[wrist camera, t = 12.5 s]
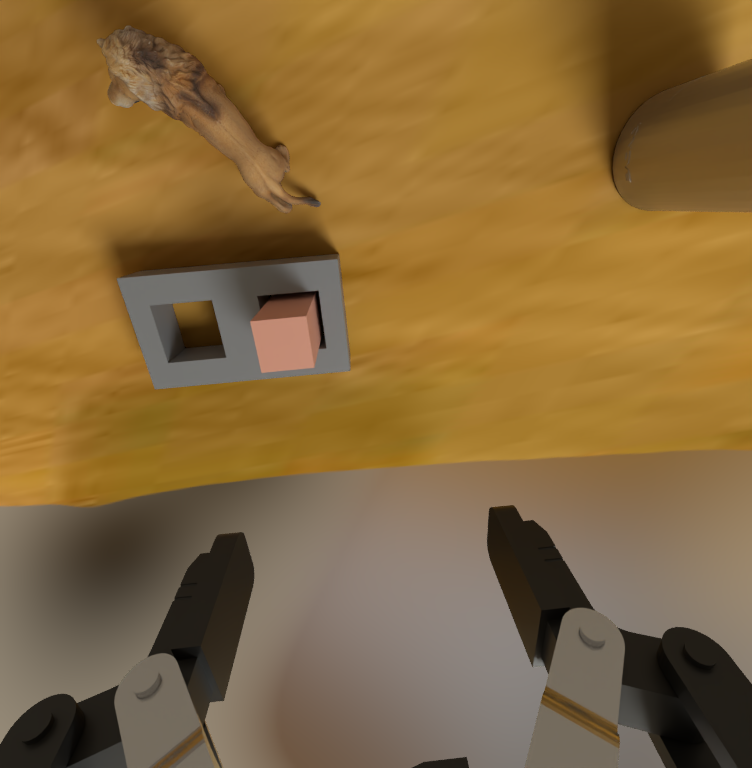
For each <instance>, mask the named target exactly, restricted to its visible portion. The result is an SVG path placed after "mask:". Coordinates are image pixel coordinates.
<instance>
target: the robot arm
mask: <svg viewBox="0 0 752 768" xmlns="http://www.w3.org/2000/svg"><path fill="white" fill-rule="evenodd" d="M613 176H614V182H615V184H616V187H617V190H618V192H619V193H620V195H621V196H622V198H623V199H624V200H625V201H626V202H628V203H629V204H630V205H631V206H634V207H636V208H638V209H642V210H649V211H699V212H752V59H750V60H747V61H744V62H742V63H739V64H736V65H733V66H731V67H728V68H725V69H722V70H720V71H717V72H714V73H712V74H709V75H706V76H703V77H700V78H697V79H695V80H692V81H689V82H686V83H684V84H681V85H678V86H676V87H673V88H670V89H667V90H665V91H662V92H660V93H658V94H657V95H655V96H653V97H651V98H650V99H648V100H647V101H646V102H645V103H644V104H642V105H641V106H640V107H639V108H638V109H637V110H636V112H635V113H634V114H633V115H632V116H631V117H630V119H629V120H628V122H627V123H626V125H625V127H624V128H623V130H622V132H621V134H620V137H619V139H618V141H617V144H616V148H615V152H614V156H613ZM487 546H488V553H489V557H490V561H491V563H492V566H493V568H494V571H495V573H496V576H497V578H498V581H499V584H500V586H501V589H502V591H503V594H504V596H505V599H506V601H507V604H508V606H509V609H510V611H511V614H512V616H513V619H514V622H515V624H516V627H517V629H518V632H519V634H520V637H521V639H522V641H523V644H524V647H525V649H526V652H527V654H528V657H529V659H530V662H531V664H532V667H541V666H545V667H546V670H547V672H548V674H549V675H548V679H547V684H546V687H545V691H544V693H543V696H542V700H541V704H540V708H539V712H538V716H537V720H536V724H535V728H534V732H533V736H532V740H531V744H530V748H529V752H528V757H527V760H526V764H525V768H618V758H619V745H620V743H619V742H620V739H619V734H618V733H617V726H618V724H620V725H623V726H627V727H631V728H634V729H639V730H642V731H646V732H648V734H649V736H650V738H651V740H652V742H653V743H654V746H655V748H656V750H657V752H658V754H659V756H660V757H661V759H662V761H663V763H664V765H665V767H666V768H752V684H751V683H750V682H749V680H748V679H747V678H746V676H745V675H744V674H743V673H742V671H741V670H740V669H739V667H738V666H737V665H736V664H735V662H734V661H733V660H732V658H731V657H730V656H729V655H728V654H727V652H726V651H725V650H724V649H723V648H722V647H721V646H720V645H719V644H717V643H716V642H715V641H713V640H712V639H711V638H709V637H707V636H706V635H704V634H701V633H700V632H698V631H695V630H692V629H689V628H684V627H675V628H671V629H668V630H667V631H666V632H665V633H664V635H663V637H662V639H661V638H655V637H651V636H646V635H641V634H636V633H632V632H628V631H625V630H622V629H620V628H618V627H616V625H615V624H614V623H613V622H612V621H611V620H609V619H608V618H607V617H606V616H604V615H602V614H601V613H599V612H597V611H595V610H594V609H593V607H592V606H591V604H590V602H589V601H588V599H587V598H586V596H585V594H584V593H583V591H582V589H581V588H580V586H579V584H578V583H577V581H576V579H575V578H574V576H573V574H572V573H571V571H570V569H569V568H568V566H567V564H566V563H565V561H563V559H562V556H561V555H560V553H559V551H558V550H557V549H556V547H555V544H554V543H553V541H552V539H551V538H550V536H549V535H548V533H547V532H546V531H545V530H544V529H543V528H542V527H541V526H539V525H538V524H537V523H536V522H535V521H533V520H531V521H523V520H522V518H521V517H520V515H519V513H518V511H517V509H516V508H515V507H514V506H513V505H510V506H500V507H491V508H490V509H489V519H488V535H487ZM253 584H254V566H253V562H252V559H251V556H250V552H249V549H248V545H247V542H246V538H245V535H244V533H242V532H239V533H229V534H220V535H218V536H217V537H216V539H215V541H214V543H213V546H212V548H211V551H210V553H203V554H200V555H199V556H198V557H197V559H196V560H195V561H194V562H193V563H192V564H191V565H190V566H189V568H188V569H187V571H186V573H185V576H184V578H183V580H182V582H181V587H180V588H179V589H178V591H177V593H176V596H175V600H174V601H173V602H172V605H171V607H170V609H169V611H168V614H167V616H166V618H165V620H164V623H163V625H162V627H161V629H160V631H159V634H158V636H157V638H156V640H155V643H154V645H153V647H152V649H151V652H150V653H149V656H148V657H147V658H145V659H144V660H142V661H140V662H139V663H138V664H136V665H135V666H134V667H133V668H132V669H131V670H130V671H129V672H128V673H127V674H126V675H125V677H124V678H123V679H122V681H121V683H120V684H119V685H118V686H116V687H113V688H111V689H109V690H107V691H105V692H102V693H100V694H98V695H95V696H93V697H91V698H88V699H86V700H84V701H81V702H79V703H76V701H75V700H74V699H73V698H72V697H71V696H70V695H67V694H57V695H53V696H51V697H48V698H46V699H44V700H42V701H40V702H38V703H37V704H35V705H34V706H33V707H31V708H30V709H29V710H27V711H26V712H25V713H24V714H23V715H22V716H21V717H20V718H19V719H18V720H17V721H16V722H15V723H14V725H13V726H12V727H11V728H10V730H9V731H8V733H7V734H6V736H5V738H4V739H3V741H2V742H1V744H0V768H223V765H222V763H221V760H220V758H219V755H218V752H217V750H216V747H215V745H214V742H213V740H212V737H211V734H210V732H209V729H208V726H207V724H206V721H205V718H206V714H207V710H208V707H209V703H210V702H216V701H224V698H225V694H226V690H227V686H228V682H229V679H230V674H231V671H232V667H233V663H234V659H235V655H236V651H237V647H238V643H239V639H240V635H241V631H242V628H243V624H244V620H245V615H246V612H247V608H248V604H249V600H250V596H251V592H252V588H253ZM413 768H469V766H468V761H467V757H463V758H456V759H447V760H438V761H429V762H423V763H421V764H419V765H417V766H415V767H413Z"/></svg>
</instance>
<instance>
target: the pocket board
mask: <svg viewBox="0 0 752 768" xmlns="http://www.w3.org/2000/svg"><path fill="white" fill-rule="evenodd" d="M117 281H118V284H119V287H120V290H121V293H122V296H123V299H124V301H125V304H126V307H127V310H128V313H129V316H130V319H131V322H132V324H133V327H134V330H135V333H136V336H137V339H138V342H139V345H140V347H141V350H142V353H143V356H144V359H145V362H146V365H147V368H148V370H149V373H150V376H151V379H152V382H153V385H154V388H155V389H163V388H174V387H185V386H195V385H206V384H216V383H227V382H238V381H248V380H259V379H270V378H280V377H291V376H301V375H312V374H323V373H333V372H344V371H350V349H349V340H348V331H347V322H346V313H345V304H344V295H343V286H342V277H341V268H340V259H339V254H330V255H319V256H307V257H296V258H284V259H273V260H261V261H250V262H238V263H227V264H215V265H204V266H192V267H181V268H169V269H158V270H146V271H139V272H136V273H133V274H129V275H126V276H123V277H120V278H117ZM308 291H319V297H320V304H321V312H322V319H323V326H324V333H325V335H324V336H321V341H320V345H319V350H318V354H317V358H316V363H315V367H314V368H307V369H296V370H286V371H276V372H266V373H261V368H260V364H259V359H258V355H257V350H256V346H255V341H254V337H253V332H252V328H251V323H250V321H251V320H252V319H253V318H254V316H255V315H256V314H257V313H258V312H259V311H260V309H261V308H262V307H263V306H264V305H265V304H266V303H267V301H268V300H269V298H268V295H274V294H286V293H297V292H308ZM207 300H212V303H213V307H214V311H215V314H216V318H217V322H218V326H219V330H220V334H221V338H222V342H223V345H216V346H205V347H194V348H185V346H184V343H183V339H182V336H181V332H180V329H179V326H178V322H177V319H176V316H175V312H174V309H173V306H172V304H173V303H185V302H196V301H207Z"/></svg>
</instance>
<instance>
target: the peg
mask: <svg viewBox="0 0 752 768" xmlns="http://www.w3.org/2000/svg"><path fill="white" fill-rule="evenodd" d="M250 323H251V328H252V332H253V337H254V341H255V346H256V350H257V355H258V359H259V364H260V368H261V373H266V372H276V371H286V370H296V369H307V368H314V367H315V363H316V358H317V354H318V350H319V345H320V341H321V336H322V332H323V327H322V320H321V313H320V306H319V299H318V292H317V291H308V292H297V293H286V294H274V295H273V296H272V297H271V298H270V299H269V300H268V301H267V303H266V304H265V305H264V306H263V307H262V308H261V309H260V311H259V312H258V313H257V314H256V315H255V316H254V318H253V319H252V320H251V321H250Z"/></svg>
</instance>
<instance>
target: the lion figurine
mask: <svg viewBox="0 0 752 768" xmlns="http://www.w3.org/2000/svg"><path fill="white" fill-rule="evenodd" d="M97 43H98V44H99V46H100V47H101V48H102V53H103V55H104V56H105V57H106V62H107V65H108V66H109V68H108V72H109V76H110V78H111V80H112V82H111V84H110V86H109V89H108V97H109V99H110V101H111V102H112V103H113V104H114V105H117V106H122V107H125V108H129V107H131V106H132V105H133V104H134V103H136V102H139V101H143V102H144V103H146V104H147V105H148V106H149V107H150V108H152V109H153V110H155V111H160V110H161V111H163V112H164V113H166V114H167V115H168V116H170V117H172V118H173V119H175V120H180V121H182V122H183V123H184V124H185V125H186V126H188V127H189V128H192V129H194V130H195V131H197V132H199V134H200V135H201V136H204V137H205V139H206V140H207V141H208V142H209V143H210V144H212V145H213V146H214V147H215V148H216V149H218V150H219V151H220V152H222V153H223V154H224V155H226V156H227V157H228V158H230V159H231V160H233V161H234V162H235V163H236V165H237V167H238V169H239V171H240V173H241V175H242V177H243V180H244V181H245V183H246V184H247V185H248V186H249V187H250V188H251V189H252V190H253V191H254V193H255V194H256V195H257V196H258V197H260V198H263V199H265V200H267V201H268V202H270V203H271V204H272V205H274V206H275V207H276V208H277V209H278V210H279V211H280V212H283V213H289V212H290V211H291V210H292V205H291V204H294V205H297V204H308V205H310V206H314V207H319V206H320V205H321V203H320V202H319V201H317V200H315V199H313V198H311V197H294V196H291V195H289V194H287V193H286V192H285V191H284V190H283V188H282V185H281V183H280V182H281V181H282V180H283V178H284V175H285V172H289V171H290V166H289V152H288V150H287V148H286V147H285V146H283V145H279V146H277V147H276V148H275V149H273V148H272V147H270V146H266V145H264V144H263V143H262V142H260V141H259V140H258V139H257V137H256V136H255V134H254V132H253V130H252V129H251V127H250V125H249V124H248V122H247V121H246V120H245V119H244V118H243V116H242V115H241V113H240V112H239V111H238V109H237V108H236V107H235V105H234V104H233V103H232V102H231V101H230V100H229V99H228V98H227V97H226V94H225V90H224V88H223V87H222V86H221V85H220V84H217V83H216V82H215V80H214V79H213V78H211V77H210V76H209V75H208V74H207V72H206V70H205V68H204V66H203V65H202V63H201V62H200V61H199V60H198V59H197V58H196V57H194V56H193V55H191V54H190V53H188V52H185V51H184V50H183V48H181V47H180V46H178V45H175V44H171V43H169V42H167V41H166V40H164V39H163V38H160V37H154V36H153V35H150V34H146V33H145V32H144V31H142V30H138V29H134V28H133V27H131V26H126V27H125V28H124V30H120V29H118V30H115V31H114V32H113V33H112V34H111V35H109V36H108V37H107V38H106V39H102V38H100V39H97ZM278 197H279V198H278Z"/></svg>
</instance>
